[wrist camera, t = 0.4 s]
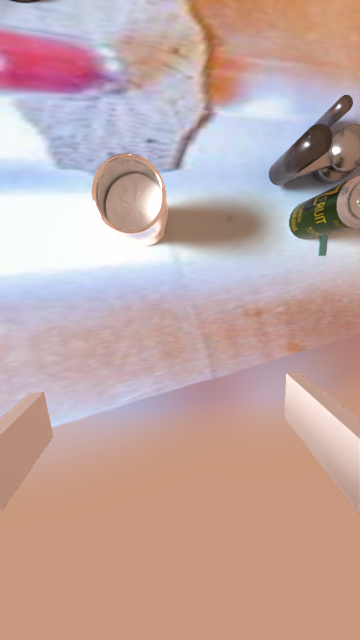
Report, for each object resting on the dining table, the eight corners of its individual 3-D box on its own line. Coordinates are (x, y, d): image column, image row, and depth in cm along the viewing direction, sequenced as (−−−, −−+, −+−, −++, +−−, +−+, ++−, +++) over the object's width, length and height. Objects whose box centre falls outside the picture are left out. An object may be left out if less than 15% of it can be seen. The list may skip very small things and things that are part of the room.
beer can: (323, 203, 36) (398, 172, 24) (317, 240, 37) (386, 227, 25) (289, 202, 35) (348, 169, 24) (284, 239, 37) (339, 225, 25)
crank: (379, 119, 31) (456, 65, 23) (383, 159, 32) (457, 121, 24) (265, 157, 32) (299, 117, 23) (272, 195, 33) (308, 171, 24)
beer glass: (177, 221, 35) (183, 189, 21) (149, 258, 36) (137, 251, 22) (140, 189, 34) (119, 131, 19) (113, 228, 35) (73, 200, 20)
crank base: (313, 120, 33) (338, 95, 28) (354, 119, 33) (385, 94, 28) (303, 256, 37) (323, 254, 32) (339, 254, 38) (365, 252, 33)
